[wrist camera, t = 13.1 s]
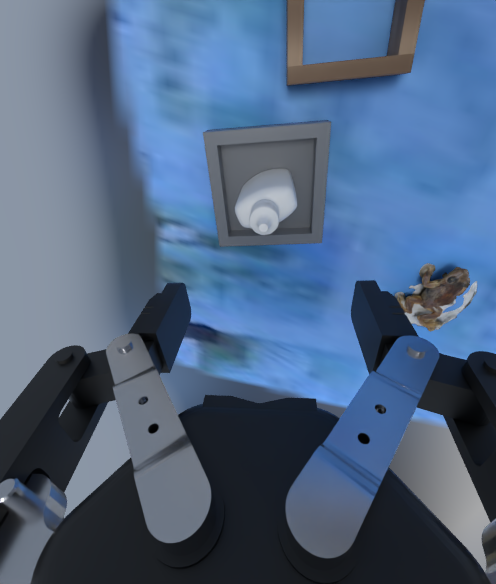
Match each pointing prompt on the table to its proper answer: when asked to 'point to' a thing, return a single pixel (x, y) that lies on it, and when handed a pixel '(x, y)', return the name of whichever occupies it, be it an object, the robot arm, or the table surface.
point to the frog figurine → (436, 297)
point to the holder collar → (394, 63)
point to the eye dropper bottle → (266, 200)
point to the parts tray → (261, 157)
